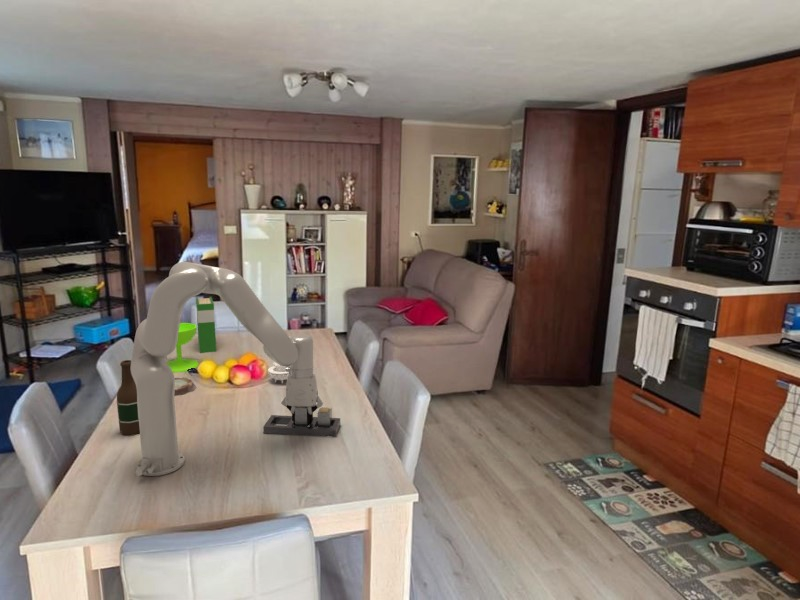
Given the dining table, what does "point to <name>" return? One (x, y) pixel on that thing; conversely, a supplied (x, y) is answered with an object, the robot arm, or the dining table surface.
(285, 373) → the mechanical part
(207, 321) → the hardback book
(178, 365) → the green goblet
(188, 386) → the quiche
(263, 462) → the dining table surface
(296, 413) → the brushed metal block
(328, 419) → the grey tan rectangular block
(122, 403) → the beer bottle
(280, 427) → the rail
